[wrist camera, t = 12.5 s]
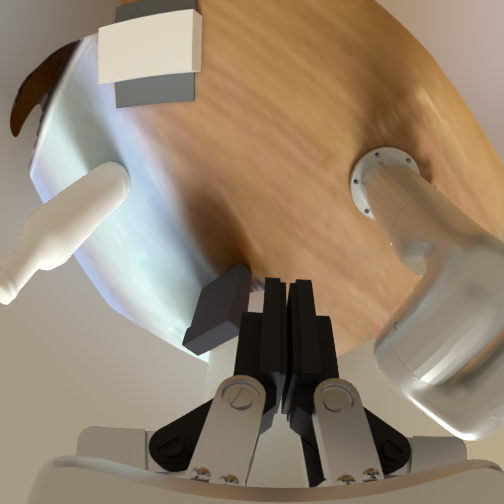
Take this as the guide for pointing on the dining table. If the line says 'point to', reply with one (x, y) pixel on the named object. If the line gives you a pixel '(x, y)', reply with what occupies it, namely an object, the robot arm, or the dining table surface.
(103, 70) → the flip block
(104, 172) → the bottle
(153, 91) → the mat
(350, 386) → the robot arm
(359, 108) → the dining table surface
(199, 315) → the dark grey box
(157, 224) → the dining table surface
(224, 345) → the milk
